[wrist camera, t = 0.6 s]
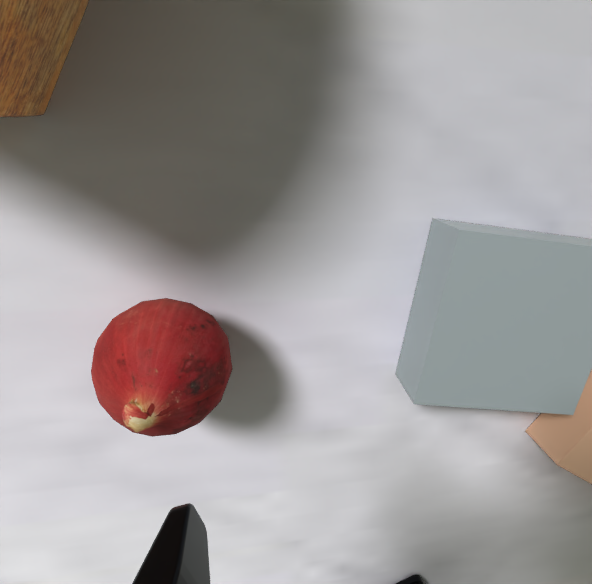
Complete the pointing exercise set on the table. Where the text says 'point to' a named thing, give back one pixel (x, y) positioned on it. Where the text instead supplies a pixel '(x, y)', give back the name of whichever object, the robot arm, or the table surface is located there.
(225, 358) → the onion
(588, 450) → the terracotta slab
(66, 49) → the wooden box
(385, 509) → the table surface
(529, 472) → the table surface
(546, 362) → the stone slab
